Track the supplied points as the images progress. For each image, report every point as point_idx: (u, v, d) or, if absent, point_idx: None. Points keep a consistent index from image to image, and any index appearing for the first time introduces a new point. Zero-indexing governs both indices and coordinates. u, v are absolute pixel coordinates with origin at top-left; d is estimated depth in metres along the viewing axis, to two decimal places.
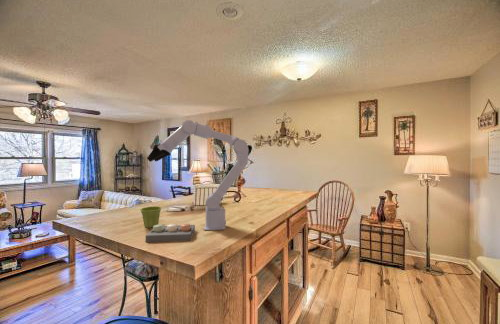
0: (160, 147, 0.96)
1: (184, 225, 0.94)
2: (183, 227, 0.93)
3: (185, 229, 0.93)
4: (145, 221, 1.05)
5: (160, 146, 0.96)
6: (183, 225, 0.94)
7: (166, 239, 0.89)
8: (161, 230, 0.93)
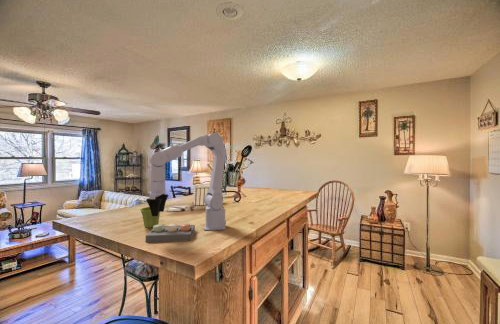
0: (152, 197, 0.87)
1: (184, 225, 0.94)
2: (183, 227, 0.93)
3: (185, 229, 0.93)
4: (145, 221, 1.05)
5: (151, 196, 0.87)
6: (183, 225, 0.94)
7: (166, 239, 0.89)
8: (161, 230, 0.93)
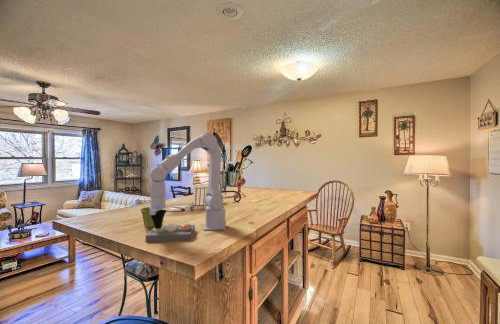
0: (152, 213, 0.87)
1: (184, 225, 0.94)
2: (183, 227, 0.93)
3: (185, 229, 0.93)
4: (145, 221, 1.05)
5: (151, 212, 0.87)
6: (183, 225, 0.94)
7: (166, 239, 0.89)
8: None
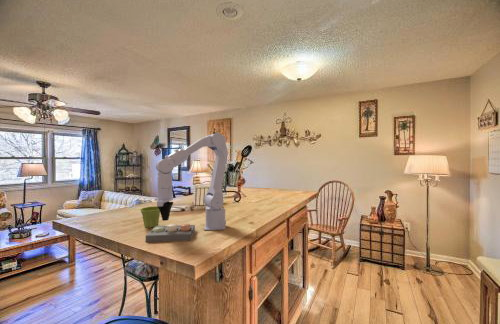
0: (159, 204, 0.87)
1: (184, 225, 0.94)
2: (183, 227, 0.93)
3: (185, 229, 0.93)
4: (145, 221, 1.05)
5: (158, 203, 0.87)
6: (183, 225, 0.94)
7: (166, 239, 0.89)
8: None
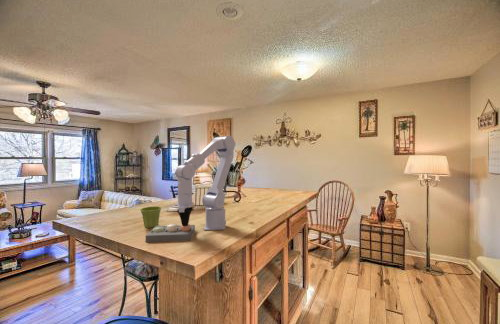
0: (181, 210, 0.88)
1: None
2: (183, 227, 0.93)
3: (185, 230, 0.93)
4: (145, 221, 1.05)
5: (180, 209, 0.88)
6: None
7: (166, 239, 0.89)
8: None
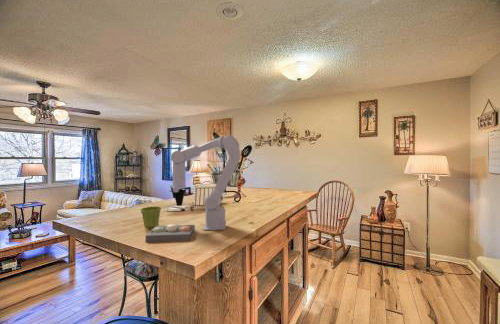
0: (175, 190, 0.99)
1: (184, 227, 0.94)
2: (183, 229, 0.93)
3: None
4: (145, 221, 1.05)
5: (175, 189, 0.99)
6: (183, 227, 0.94)
7: (166, 239, 0.89)
8: None
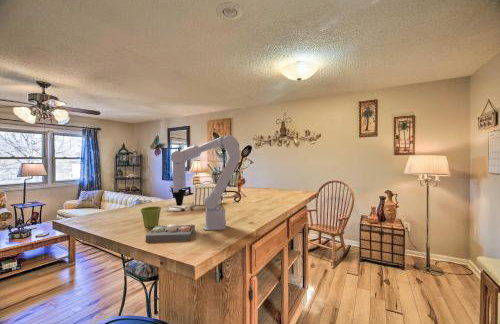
0: (175, 190, 0.99)
1: (184, 227, 0.94)
2: (183, 229, 0.93)
3: None
4: (145, 221, 1.05)
5: (174, 189, 0.99)
6: (183, 227, 0.94)
7: (166, 239, 0.89)
8: None
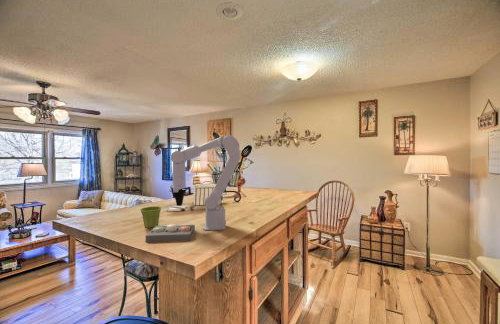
0: (175, 190, 0.99)
1: (184, 227, 0.94)
2: (183, 229, 0.93)
3: None
4: (145, 221, 1.05)
5: (174, 189, 0.99)
6: (183, 227, 0.94)
7: (166, 239, 0.89)
8: None
